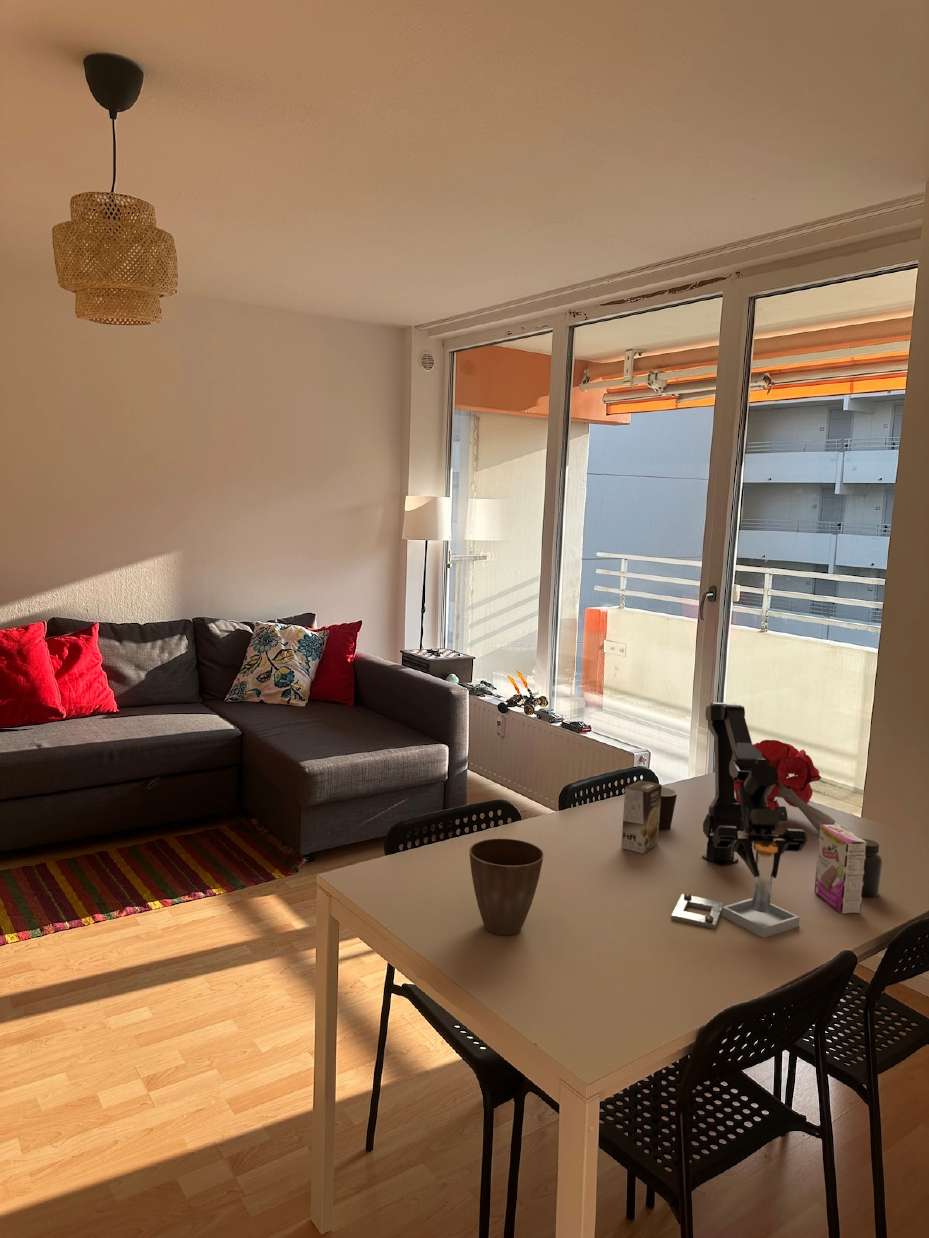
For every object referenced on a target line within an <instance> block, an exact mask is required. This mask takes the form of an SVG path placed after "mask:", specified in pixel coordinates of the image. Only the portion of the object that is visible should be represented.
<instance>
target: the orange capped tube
mask: <svg viewBox="0 0 929 1238" xmlns="http://www.w3.org/2000/svg"><path fill="white" fill-rule="evenodd" d="M753 850H755V851H756V853H755V863H756V867H757V877H754V876H753V886H752V887H753V889H752V898H753V899H752V909H753V910H755V911H758V912H769V911H770V903H771V902H772V901H771V898H772V887H773V879H774V878H773V866H774V854H775V853H777V852H778V845H777V844H775V843H773V842H769V841H755V842H753Z"/></svg>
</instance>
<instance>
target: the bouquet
mask: <svg viewBox="0 0 929 1238" xmlns="http://www.w3.org/2000/svg"><path fill="white" fill-rule="evenodd" d="M752 744H753V743H752ZM753 747H755V748H756V749H757V750H759V751H760V752H761V754H762V756H763V759H766V761H767V764H769V765H771V766H772V767H774V769H775V770H776V771H777V773H778V781H777V782H776V784H775V786H774V788H773V789H772V791H771V793H770V794H769V795H768V796H767V797H766V798H767V804H768V807H770V809H773V810H775V807H777V806H780V804H779V802H778V799H776V798H782V799H783V800H784V801H785V803H787V804H788V805H789V806H790V807H793V808H798V809H799V811H801V813H803V815H804V816H805V817H806V818H807V820H808V822H810V823H811V825H812V826H813V827H814V828H815V829H816V831H817V832H819V829H820V825H823V824H826V825H827V824H836V820H835V819H834V818H833V817H832V816H830V815H828V814H827V813H825V812H824V811H821V810H820V809H818V808H815V807H813V806H812V805H810V804H809V803H810V800H811V799H812V796H813V793H814V792H813V789H812V787H811V783H813V782H819V781H821V779H822V776H821V775H820V771H819V769H818V768H816V766H815V765H814V762H813V760H812V758H811V756H809V754H807V752H806V751H805V750H804V749H800V750H798V749H797V748H795V746H793V745H792V744H790V743H788V742H786V743H785V742H782V741H780V740H776V739H763V740H761V741H760V742H756V743H754V744H753ZM790 775H791V776H790ZM792 775H793V776H792ZM744 782H745V781H735V780H734V794H735V799H736V800H737V802H738V803H739V804H740V799H739V797H738V788H739V787H740V785H741V784H743V783H744ZM775 799H776V800H775ZM780 823H781V822H779V824H780Z"/></svg>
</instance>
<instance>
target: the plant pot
mask: <svg viewBox="0 0 929 1238" xmlns="http://www.w3.org/2000/svg"><path fill="white" fill-rule="evenodd" d="M468 852H469V861H470V862H469V863H470V870H471V879H472V884H473V889H474V894H475V899H476V902H477V907H478V910H479V914H480V916H481V920H482V922H483V926H484V929H485V930H486V931H487V932H489V933H491V934H494V935H497V936H513V935H516V934H518V933H519V932H521V930H522V928H523V926H524V924H525V922H526V919H527V916H528V914H529V912H530V910H531V906H532V903H533V900H534V897H535V894H536V890H537V888H538V887H537V886H538V883H539V880H540V875H541V870H542V865H543V860H544V855H545V854H544V852H543V850H542V849H541V848H540V847H538V846H537V845H535V844H533V843H531V842H527V841H525V840H520V839H519V840H518V839H512V838H490V839H483V840H480V841H478V842H475V843H473V844H472V845H471V846H470V847H469V851H468Z"/></svg>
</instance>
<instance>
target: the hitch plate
mask: <svg viewBox="0 0 929 1238" xmlns="http://www.w3.org/2000/svg"><path fill="white" fill-rule="evenodd" d="M724 906H725V905H724V902H723V901H719V900H714V899H708V898H704V897H699V896H695V895H694V896H693V895H692V894H691V893H681V895H680V897H679V899H678V901H677V903H676V906H675V907H674V910H673V911H672V913H671V917H670V920H671V921H675V922H679V923H685V924H690V925H694V926H698V927H704V928H707V929H713V930H716V928H717V925H718V922H719V919H720V918H721V917H720V916H722V907H724ZM687 907H692V908H698V909H702V910H706V911H710V913H709V915H704V914H700V913H695V912H691V911H690V912H689V911H686V910H687Z"/></svg>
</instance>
